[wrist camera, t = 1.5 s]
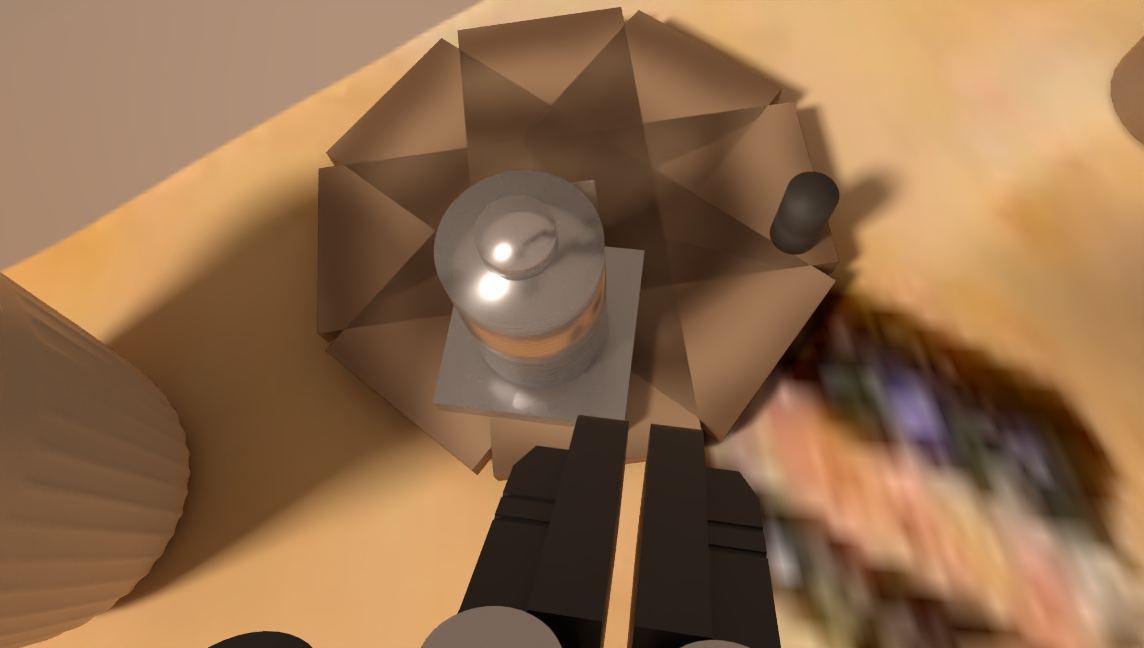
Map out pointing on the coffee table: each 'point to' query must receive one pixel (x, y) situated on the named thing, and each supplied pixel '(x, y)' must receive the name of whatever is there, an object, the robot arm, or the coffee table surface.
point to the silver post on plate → (534, 304)
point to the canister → (77, 472)
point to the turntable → (618, 193)
